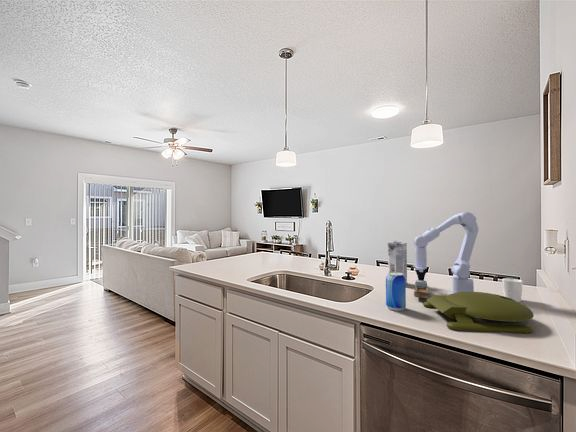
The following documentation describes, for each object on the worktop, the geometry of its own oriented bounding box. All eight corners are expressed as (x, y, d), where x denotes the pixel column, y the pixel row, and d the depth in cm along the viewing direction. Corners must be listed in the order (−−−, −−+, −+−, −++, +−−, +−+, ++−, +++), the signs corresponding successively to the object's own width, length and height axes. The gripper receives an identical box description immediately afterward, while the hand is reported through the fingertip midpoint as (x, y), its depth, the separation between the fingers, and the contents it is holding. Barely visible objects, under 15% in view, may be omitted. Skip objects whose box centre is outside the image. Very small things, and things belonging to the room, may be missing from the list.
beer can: (396, 312, 122) (396, 276, 122) (382, 307, 129) (381, 272, 129) (409, 309, 126) (409, 274, 126) (394, 304, 133) (394, 271, 133)
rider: (426, 287, 151) (426, 280, 151) (426, 289, 147) (426, 282, 147) (415, 286, 153) (415, 280, 153) (415, 288, 150) (415, 281, 150)
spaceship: (450, 332, 102) (449, 305, 102) (421, 305, 133) (421, 284, 133) (556, 336, 98) (556, 308, 98) (501, 308, 128) (501, 286, 128)
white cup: (519, 298, 140) (519, 279, 140) (525, 303, 133) (524, 282, 133) (500, 297, 144) (500, 277, 144) (504, 301, 137) (504, 280, 137)
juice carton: (409, 283, 173) (408, 240, 173) (398, 286, 167) (398, 241, 167) (396, 281, 180) (396, 239, 180) (386, 283, 174) (385, 240, 175)
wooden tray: (428, 291, 155) (427, 283, 155) (429, 302, 136) (429, 292, 136) (414, 290, 158) (414, 282, 158) (414, 300, 138) (413, 291, 138)
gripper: (413, 256, 161) (413, 279, 161) (412, 259, 148) (412, 285, 148) (426, 256, 158) (426, 280, 158) (427, 260, 145) (427, 286, 145)
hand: (421, 282), depth 153 cm, fingers closed
